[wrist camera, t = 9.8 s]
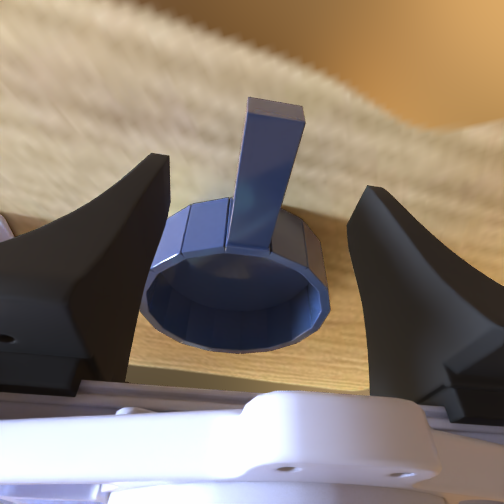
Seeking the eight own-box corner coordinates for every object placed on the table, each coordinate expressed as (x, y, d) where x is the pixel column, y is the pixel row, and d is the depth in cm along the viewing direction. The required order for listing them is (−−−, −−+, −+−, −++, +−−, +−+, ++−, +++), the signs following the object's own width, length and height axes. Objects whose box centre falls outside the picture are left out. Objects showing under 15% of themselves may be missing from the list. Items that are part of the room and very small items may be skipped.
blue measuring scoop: (296, 316, 29) (300, 359, 26) (156, 301, 28) (145, 345, 25) (403, 100, 15) (434, 146, 12) (132, 52, 14) (101, 90, 11)
